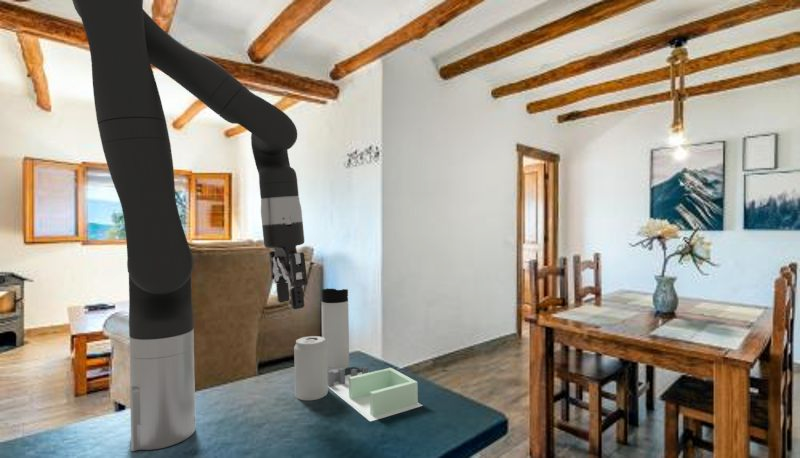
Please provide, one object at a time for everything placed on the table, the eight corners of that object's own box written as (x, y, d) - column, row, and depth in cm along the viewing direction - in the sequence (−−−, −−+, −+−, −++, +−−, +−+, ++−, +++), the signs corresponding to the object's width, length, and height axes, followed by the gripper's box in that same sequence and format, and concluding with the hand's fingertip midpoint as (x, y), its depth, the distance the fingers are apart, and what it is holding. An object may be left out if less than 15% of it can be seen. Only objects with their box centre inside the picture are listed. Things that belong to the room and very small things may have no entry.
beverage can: (331, 393, 86) (330, 335, 85) (322, 407, 79) (321, 344, 79) (301, 392, 86) (300, 334, 86) (290, 406, 80) (289, 343, 80)
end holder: (373, 416, 72) (372, 393, 72) (349, 397, 80) (348, 377, 80) (417, 403, 77) (417, 382, 77) (391, 386, 85) (390, 367, 85)
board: (370, 428, 71) (369, 403, 70) (321, 386, 89) (320, 367, 89) (422, 411, 76) (422, 389, 76) (366, 376, 95) (366, 357, 95)
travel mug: (317, 375, 96) (316, 288, 96) (329, 365, 102) (327, 284, 102) (342, 377, 95) (341, 289, 94) (353, 367, 101) (351, 285, 101)
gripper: (253, 223, 84) (261, 303, 84) (273, 222, 72) (283, 315, 73) (289, 220, 88) (297, 296, 89) (314, 219, 76) (323, 306, 77)
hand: (290, 304), depth 81 cm, fingers open, 8 cm apart
